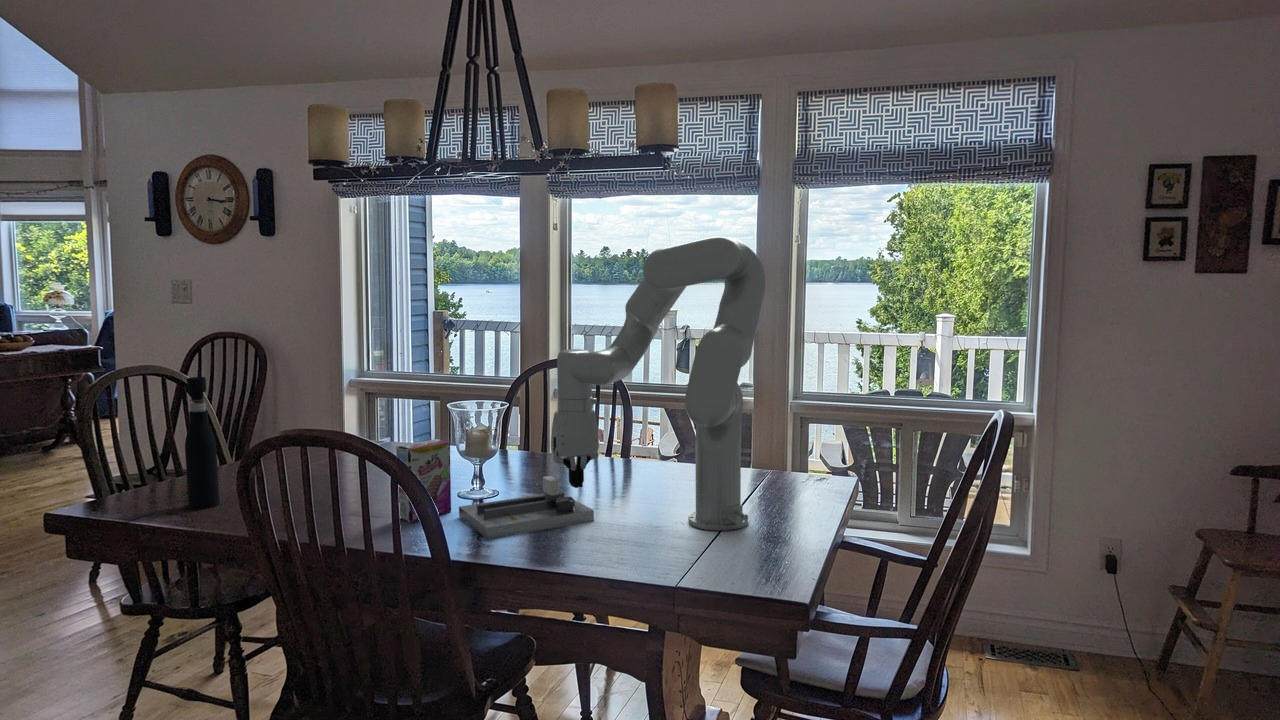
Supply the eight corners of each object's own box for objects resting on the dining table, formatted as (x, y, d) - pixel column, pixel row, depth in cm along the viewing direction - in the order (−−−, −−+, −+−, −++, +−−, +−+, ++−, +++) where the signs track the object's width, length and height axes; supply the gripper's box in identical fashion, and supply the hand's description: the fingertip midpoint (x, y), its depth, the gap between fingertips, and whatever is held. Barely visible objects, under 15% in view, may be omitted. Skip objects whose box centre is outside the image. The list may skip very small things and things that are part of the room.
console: (593, 520, 183) (593, 500, 183) (487, 539, 171) (486, 517, 171) (559, 501, 199) (558, 482, 198) (459, 517, 187) (458, 497, 187)
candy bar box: (411, 524, 182) (408, 448, 181) (397, 519, 186) (394, 445, 184) (453, 512, 191) (450, 440, 189) (439, 508, 194) (436, 437, 193)
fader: (559, 505, 186) (558, 480, 186) (550, 506, 185) (550, 481, 185) (551, 500, 190) (550, 476, 190) (542, 501, 189) (542, 477, 189)
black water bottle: (206, 509, 195) (198, 379, 192) (182, 508, 196) (173, 379, 193) (225, 502, 201) (218, 376, 198) (201, 501, 203) (193, 376, 199)
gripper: (597, 400, 196) (598, 478, 198) (537, 405, 188) (538, 487, 190) (612, 404, 189) (613, 485, 191) (550, 410, 182) (552, 494, 184)
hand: (576, 486), depth 191 cm, fingers closed
